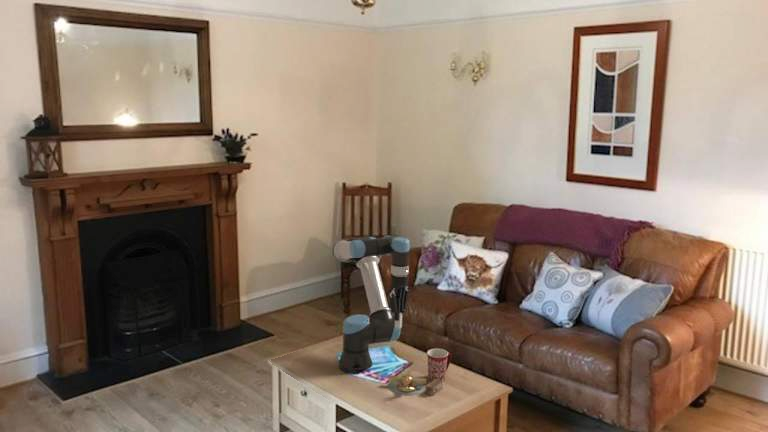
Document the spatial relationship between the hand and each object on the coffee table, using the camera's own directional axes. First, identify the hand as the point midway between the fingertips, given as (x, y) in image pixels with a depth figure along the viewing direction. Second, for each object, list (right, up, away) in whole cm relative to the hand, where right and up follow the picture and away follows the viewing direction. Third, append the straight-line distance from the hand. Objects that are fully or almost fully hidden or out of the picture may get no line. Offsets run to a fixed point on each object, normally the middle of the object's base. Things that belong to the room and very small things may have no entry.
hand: (398, 326), depth 273 cm
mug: (+18, -25, +5) cm, 31 cm away
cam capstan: (+4, -24, -4) cm, 25 cm away
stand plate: (+4, -26, -4) cm, 26 cm away
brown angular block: (+15, -27, -8) cm, 32 cm away
